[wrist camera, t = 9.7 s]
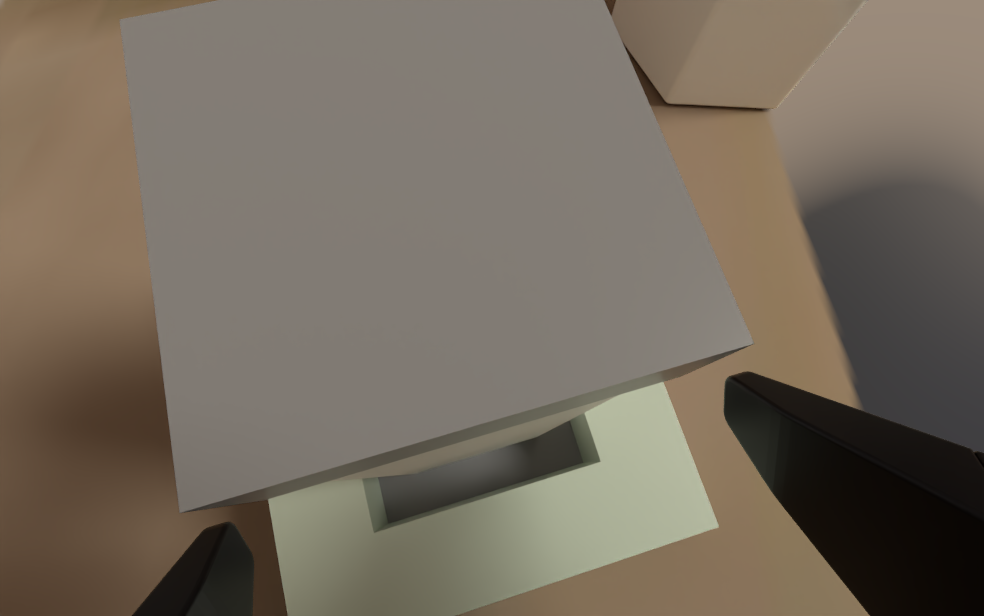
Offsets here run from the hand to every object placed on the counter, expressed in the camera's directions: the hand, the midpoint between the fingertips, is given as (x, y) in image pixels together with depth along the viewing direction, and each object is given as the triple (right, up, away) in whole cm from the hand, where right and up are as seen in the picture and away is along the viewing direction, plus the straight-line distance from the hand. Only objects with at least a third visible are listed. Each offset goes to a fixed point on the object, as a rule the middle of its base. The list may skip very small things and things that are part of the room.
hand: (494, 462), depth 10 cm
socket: (-1, 0, +9) cm, 9 cm away
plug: (-1, 0, +8) cm, 8 cm away
